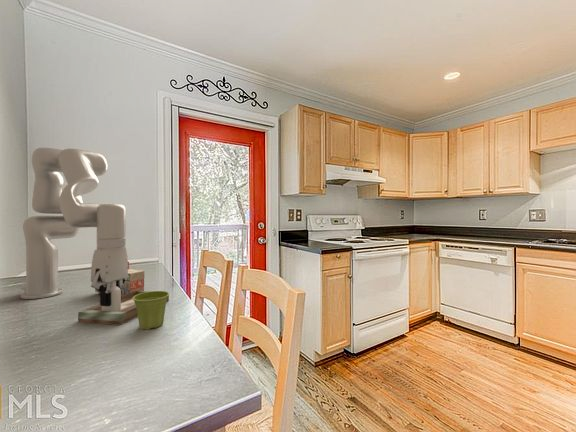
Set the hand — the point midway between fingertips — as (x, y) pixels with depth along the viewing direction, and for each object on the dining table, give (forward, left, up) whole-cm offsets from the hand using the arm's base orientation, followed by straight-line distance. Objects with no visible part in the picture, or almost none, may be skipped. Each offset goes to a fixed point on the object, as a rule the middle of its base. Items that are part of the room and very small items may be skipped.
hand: (111, 303), depth 86 cm
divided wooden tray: (0, +7, -5) cm, 9 cm away
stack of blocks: (-16, +22, -4) cm, 28 cm away
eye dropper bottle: (0, 0, -3) cm, 3 cm away
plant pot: (+16, -4, -5) cm, 17 cm away
